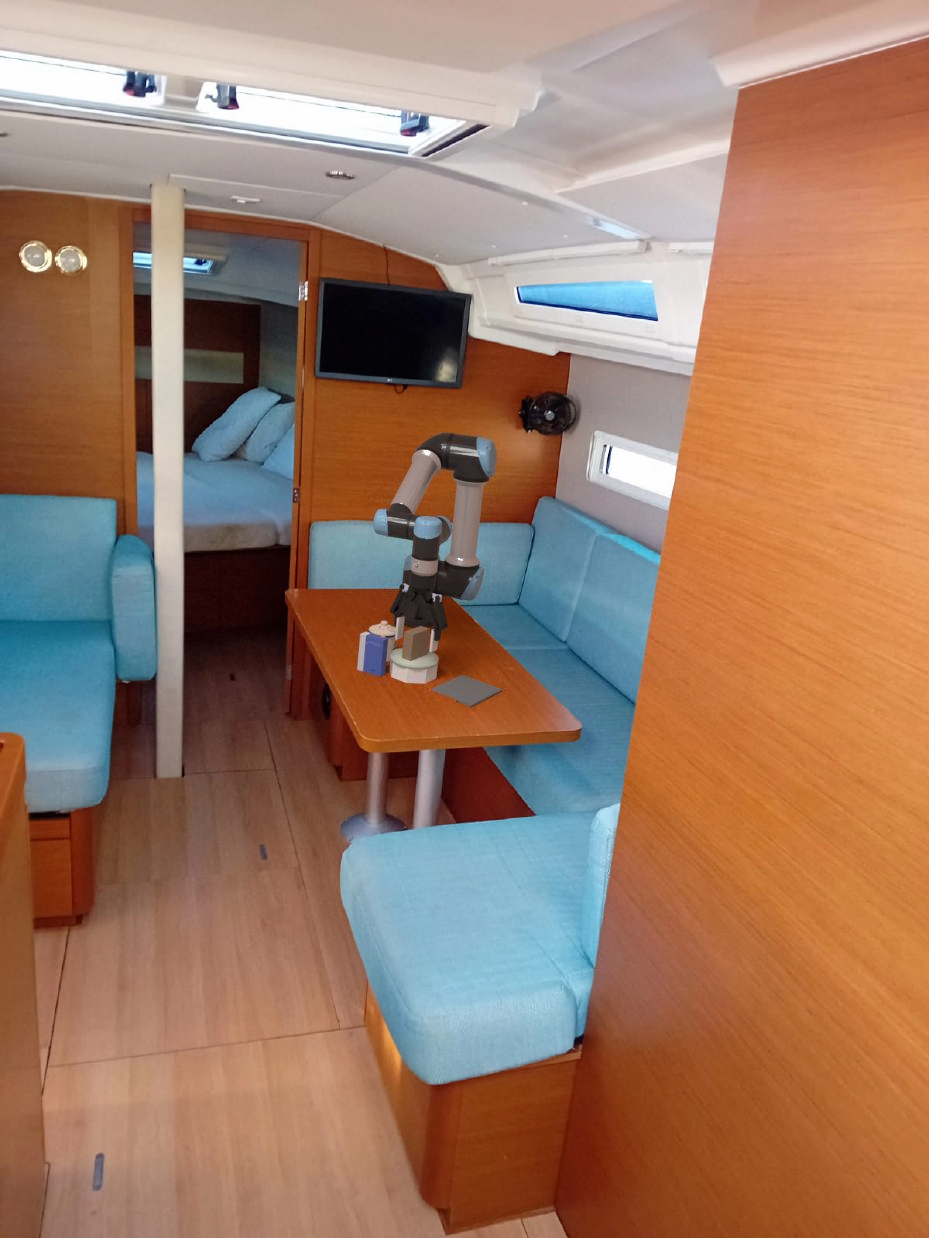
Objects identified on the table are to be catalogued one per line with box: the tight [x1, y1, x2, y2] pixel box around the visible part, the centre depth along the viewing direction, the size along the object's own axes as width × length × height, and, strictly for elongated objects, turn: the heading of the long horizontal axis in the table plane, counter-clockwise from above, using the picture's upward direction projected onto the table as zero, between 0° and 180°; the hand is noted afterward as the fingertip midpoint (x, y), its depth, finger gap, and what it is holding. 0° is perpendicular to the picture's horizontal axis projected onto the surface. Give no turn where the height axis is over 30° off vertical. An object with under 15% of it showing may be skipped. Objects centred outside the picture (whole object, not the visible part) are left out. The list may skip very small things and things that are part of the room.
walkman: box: [356, 631, 388, 677], centre depth 267 cm, size 8×3×12 cm, turn 64°
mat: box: [430, 674, 503, 708], centre depth 265 cm, size 16×14×1 cm
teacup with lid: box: [367, 620, 398, 662], centre depth 281 cm, size 12×9×12 cm
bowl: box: [388, 660, 439, 685], centre depth 270 cm, size 13×13×5 cm
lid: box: [390, 626, 440, 669], centre depth 268 cm, size 14×14×9 cm
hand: (415, 644), depth 268 cm, fingers open, 12 cm apart
